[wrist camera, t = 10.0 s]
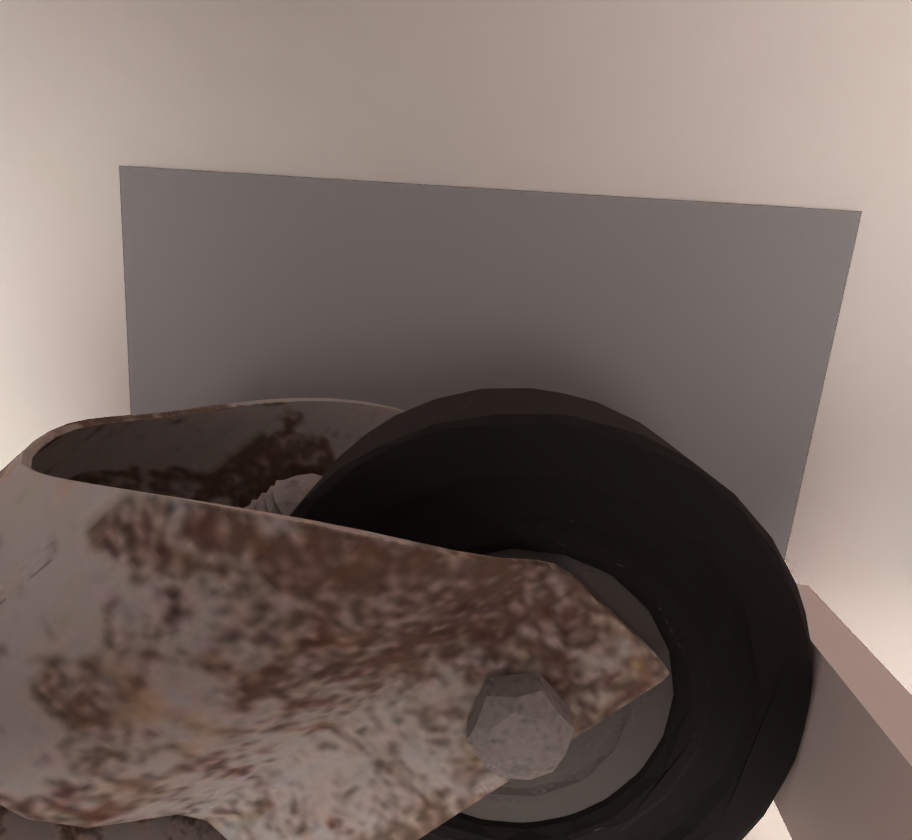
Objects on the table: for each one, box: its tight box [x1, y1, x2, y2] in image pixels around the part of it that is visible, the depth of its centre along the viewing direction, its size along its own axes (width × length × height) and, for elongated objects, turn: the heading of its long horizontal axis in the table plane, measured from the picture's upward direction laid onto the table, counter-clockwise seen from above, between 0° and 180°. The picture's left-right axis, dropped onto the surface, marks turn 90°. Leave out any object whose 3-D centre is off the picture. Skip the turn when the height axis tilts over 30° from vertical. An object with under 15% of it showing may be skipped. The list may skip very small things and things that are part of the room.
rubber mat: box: [119, 166, 862, 560], centre depth 14 cm, size 14×16×1 cm
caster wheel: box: [0, 388, 812, 840], centre depth 9 cm, size 7×11×10 cm
